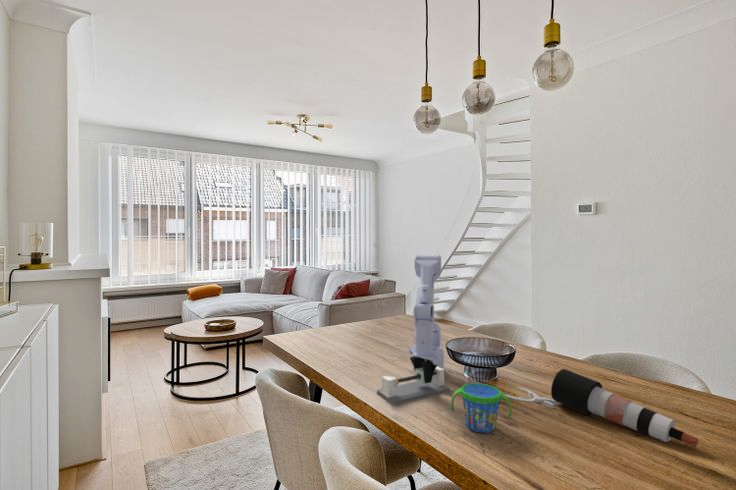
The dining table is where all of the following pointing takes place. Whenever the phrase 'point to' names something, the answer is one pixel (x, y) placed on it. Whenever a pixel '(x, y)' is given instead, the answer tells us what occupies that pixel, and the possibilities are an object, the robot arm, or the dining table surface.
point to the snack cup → (481, 405)
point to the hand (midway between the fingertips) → (423, 380)
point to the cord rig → (412, 388)
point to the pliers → (536, 399)
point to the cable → (613, 407)
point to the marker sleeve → (420, 371)
